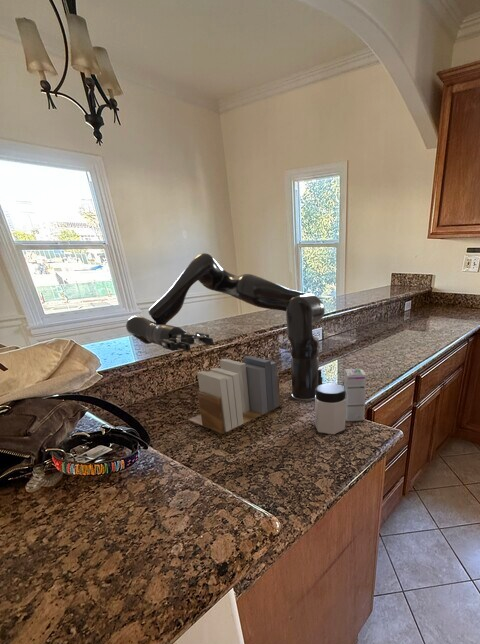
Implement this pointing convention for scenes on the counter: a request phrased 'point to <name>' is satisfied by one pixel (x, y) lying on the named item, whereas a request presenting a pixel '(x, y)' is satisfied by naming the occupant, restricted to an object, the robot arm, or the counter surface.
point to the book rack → (219, 412)
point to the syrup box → (355, 394)
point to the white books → (224, 394)
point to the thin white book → (241, 370)
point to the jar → (330, 408)
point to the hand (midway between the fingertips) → (201, 344)
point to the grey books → (261, 384)
